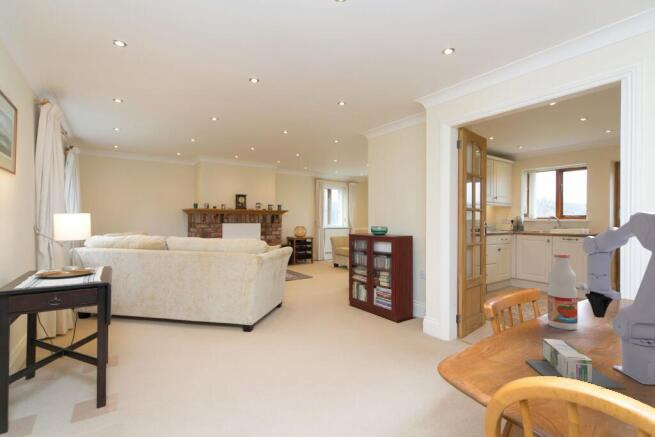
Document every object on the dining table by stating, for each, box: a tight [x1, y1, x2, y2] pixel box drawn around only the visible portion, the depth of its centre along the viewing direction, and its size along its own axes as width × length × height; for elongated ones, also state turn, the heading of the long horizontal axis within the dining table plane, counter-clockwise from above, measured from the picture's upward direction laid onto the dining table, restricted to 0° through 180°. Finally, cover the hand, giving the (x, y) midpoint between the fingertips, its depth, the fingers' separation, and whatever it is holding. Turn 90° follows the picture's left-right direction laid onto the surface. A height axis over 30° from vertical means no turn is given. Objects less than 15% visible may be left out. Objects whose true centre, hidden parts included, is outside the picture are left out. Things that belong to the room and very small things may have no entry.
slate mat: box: [525, 359, 626, 390], centre depth 85 cm, size 14×16×1 cm
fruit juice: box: [547, 253, 579, 331], centre depth 124 cm, size 9×9×28 cm
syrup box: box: [542, 338, 593, 382], centre depth 87 cm, size 6×6×14 cm
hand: (599, 317), depth 101 cm, fingers closed
